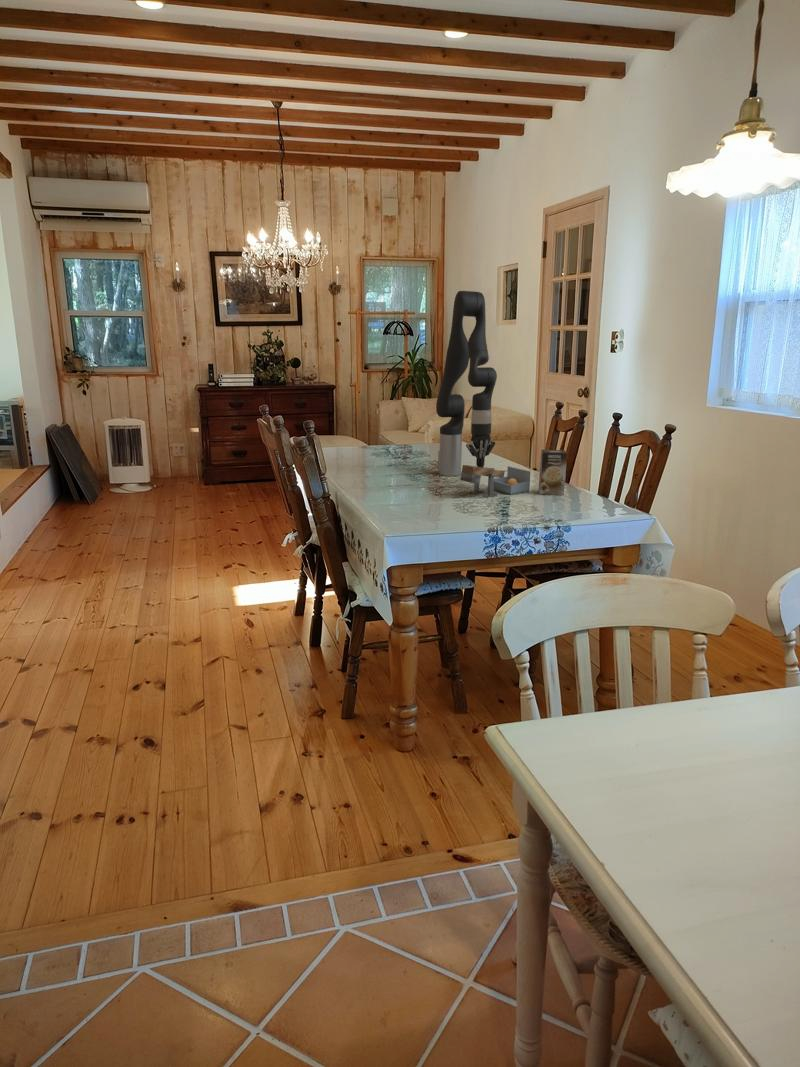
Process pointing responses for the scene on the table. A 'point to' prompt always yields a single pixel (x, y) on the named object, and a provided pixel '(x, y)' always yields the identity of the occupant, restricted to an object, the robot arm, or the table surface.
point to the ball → (511, 481)
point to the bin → (518, 487)
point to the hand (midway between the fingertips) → (480, 467)
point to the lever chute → (478, 473)
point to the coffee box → (552, 472)
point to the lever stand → (490, 487)
